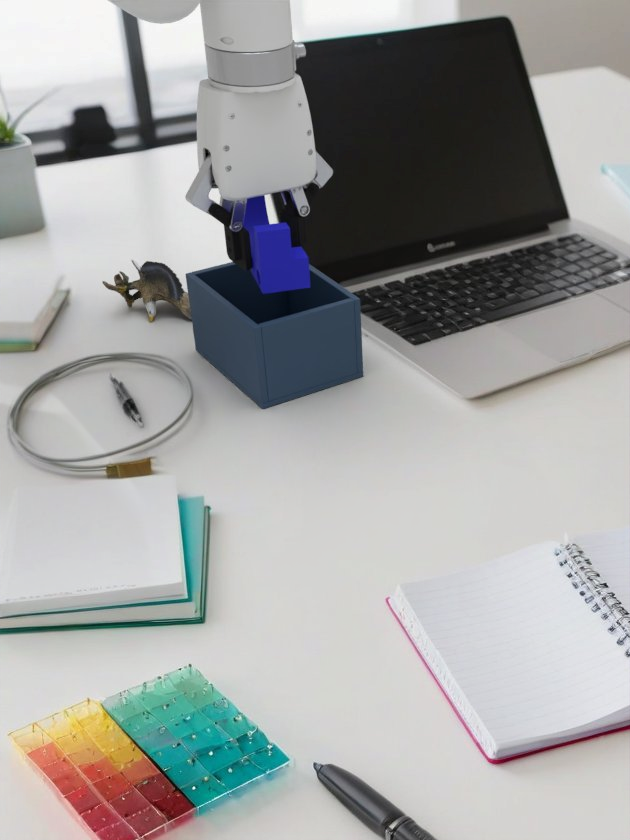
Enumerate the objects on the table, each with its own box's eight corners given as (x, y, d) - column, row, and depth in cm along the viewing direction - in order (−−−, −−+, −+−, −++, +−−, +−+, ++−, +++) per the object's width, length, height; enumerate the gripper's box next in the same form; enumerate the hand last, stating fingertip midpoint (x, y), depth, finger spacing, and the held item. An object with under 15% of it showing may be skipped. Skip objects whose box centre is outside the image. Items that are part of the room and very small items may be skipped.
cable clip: (310, 287, 108) (306, 226, 105) (262, 293, 107) (256, 232, 103) (280, 239, 117) (275, 181, 114) (236, 244, 116) (229, 186, 112)
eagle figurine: (103, 320, 122) (183, 313, 120) (99, 252, 122) (178, 244, 120) (139, 328, 129) (214, 322, 128) (135, 264, 129) (210, 257, 127)
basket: (262, 409, 111) (254, 328, 106) (195, 350, 120) (184, 273, 115) (363, 376, 117) (360, 298, 112) (292, 322, 126) (286, 248, 121)
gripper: (314, 41, 108) (324, 227, 118) (140, 67, 99) (168, 265, 109) (357, 61, 103) (364, 252, 114) (178, 89, 94) (204, 294, 105)
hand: (268, 257), depth 111 cm, fingers closed on cable clip, 5 cm apart
